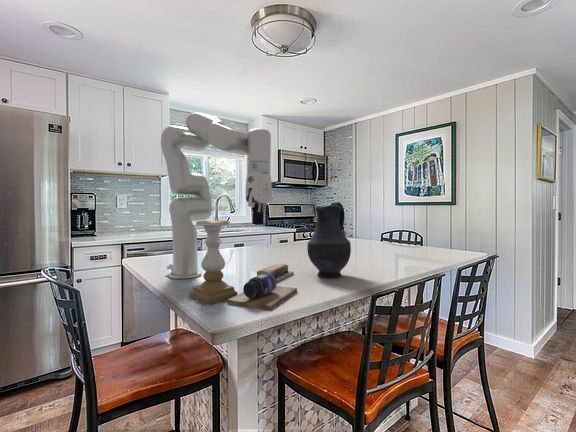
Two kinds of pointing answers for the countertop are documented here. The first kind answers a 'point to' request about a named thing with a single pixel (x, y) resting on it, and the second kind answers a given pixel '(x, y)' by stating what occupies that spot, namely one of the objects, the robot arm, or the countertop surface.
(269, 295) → the walnut board
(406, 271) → the countertop surface
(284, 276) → the butter dish
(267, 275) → the pill bottle
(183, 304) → the countertop surface
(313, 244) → the pitcher
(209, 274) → the candle holder
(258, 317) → the countertop surface
